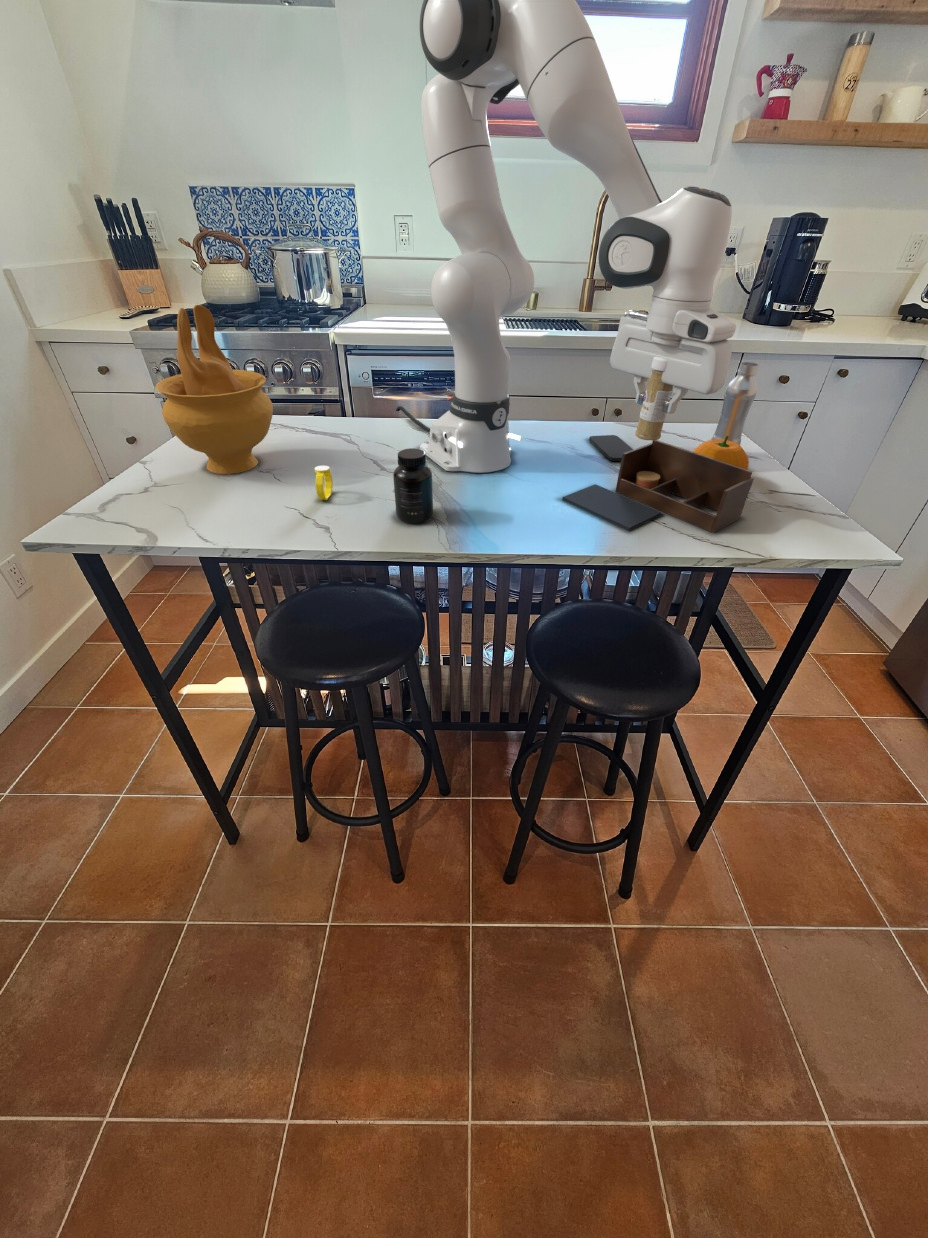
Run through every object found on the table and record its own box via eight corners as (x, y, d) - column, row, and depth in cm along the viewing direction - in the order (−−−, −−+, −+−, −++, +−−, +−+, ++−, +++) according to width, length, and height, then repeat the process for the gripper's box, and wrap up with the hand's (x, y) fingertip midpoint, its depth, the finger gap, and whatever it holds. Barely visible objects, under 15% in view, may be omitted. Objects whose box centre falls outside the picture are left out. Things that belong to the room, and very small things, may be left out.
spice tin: (628, 491, 111) (631, 474, 109) (641, 485, 114) (645, 468, 111) (647, 499, 109) (651, 482, 106) (660, 493, 111) (665, 476, 109)
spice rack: (615, 491, 111) (623, 448, 106) (642, 480, 116) (651, 438, 110) (713, 533, 98) (729, 485, 92) (739, 518, 103) (756, 472, 97)
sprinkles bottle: (631, 432, 100) (648, 352, 91) (655, 432, 100) (674, 352, 92) (640, 441, 96) (659, 359, 88) (664, 441, 97) (686, 359, 88)
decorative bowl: (243, 490, 108) (201, 320, 90) (157, 475, 113) (101, 311, 95) (301, 454, 124) (276, 302, 106) (223, 441, 129) (186, 295, 111)
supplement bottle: (398, 507, 104) (394, 444, 96) (434, 508, 104) (433, 446, 96) (393, 524, 98) (389, 459, 91) (431, 525, 98) (430, 461, 91)
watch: (328, 504, 104) (324, 474, 101) (314, 503, 104) (309, 474, 101) (337, 491, 109) (333, 462, 105) (323, 490, 109) (319, 461, 105)
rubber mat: (562, 499, 108) (562, 496, 107) (594, 486, 113) (595, 484, 112) (628, 530, 98) (629, 527, 98) (661, 515, 103) (662, 512, 103)
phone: (616, 434, 136) (642, 456, 124) (615, 437, 136) (641, 460, 124) (587, 435, 134) (611, 458, 123) (587, 439, 135) (610, 461, 123)
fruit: (692, 468, 122) (705, 422, 115) (747, 481, 116) (764, 434, 110) (674, 485, 114) (687, 437, 108) (733, 500, 109) (750, 451, 103)
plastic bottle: (742, 457, 127) (773, 365, 115) (724, 463, 124) (754, 369, 112) (718, 449, 131) (745, 358, 119) (700, 454, 128) (726, 362, 116)
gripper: (611, 309, 91) (596, 395, 99) (725, 331, 79) (696, 427, 87) (634, 306, 94) (617, 390, 103) (746, 327, 82) (717, 420, 91)
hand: (654, 407), depth 95 cm, fingers closed on sprinkles bottle, 4 cm apart
